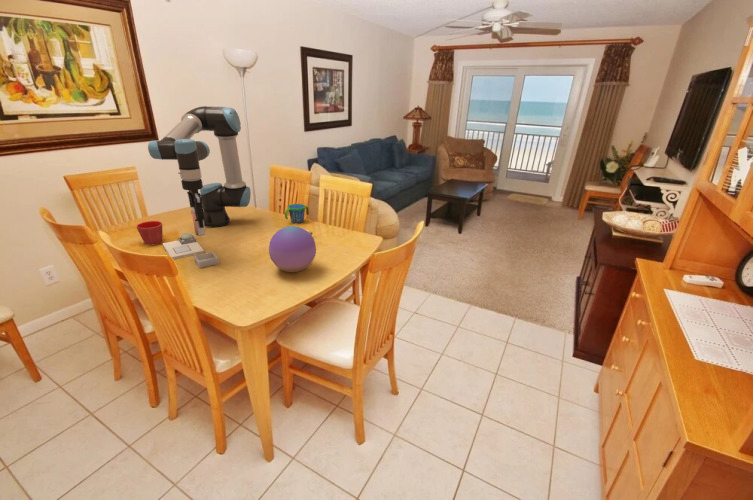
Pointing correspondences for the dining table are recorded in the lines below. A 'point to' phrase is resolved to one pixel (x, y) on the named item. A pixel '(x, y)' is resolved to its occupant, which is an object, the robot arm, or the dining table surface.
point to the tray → (206, 260)
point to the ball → (292, 249)
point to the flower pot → (150, 232)
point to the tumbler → (195, 221)
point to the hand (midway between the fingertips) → (200, 232)
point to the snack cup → (297, 212)
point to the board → (183, 248)
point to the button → (186, 236)
